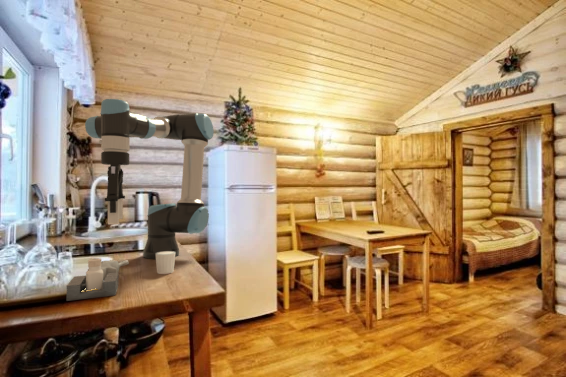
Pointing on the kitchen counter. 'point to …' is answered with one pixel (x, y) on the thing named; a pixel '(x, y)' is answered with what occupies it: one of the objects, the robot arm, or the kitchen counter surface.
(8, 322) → the kitchen counter surface
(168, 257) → the white cup
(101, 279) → the pepper shaker
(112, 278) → the socket mount
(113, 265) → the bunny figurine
